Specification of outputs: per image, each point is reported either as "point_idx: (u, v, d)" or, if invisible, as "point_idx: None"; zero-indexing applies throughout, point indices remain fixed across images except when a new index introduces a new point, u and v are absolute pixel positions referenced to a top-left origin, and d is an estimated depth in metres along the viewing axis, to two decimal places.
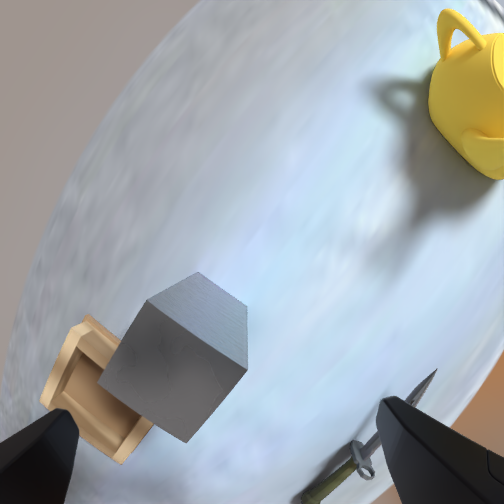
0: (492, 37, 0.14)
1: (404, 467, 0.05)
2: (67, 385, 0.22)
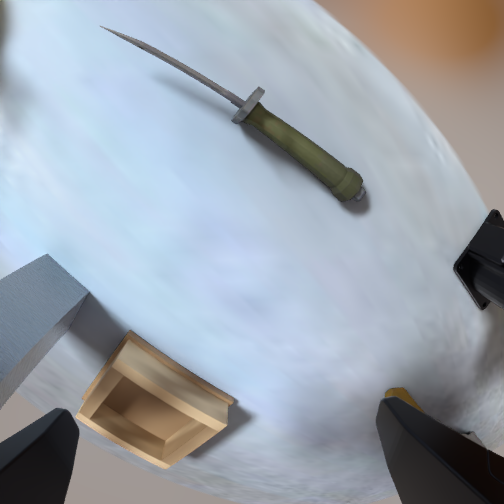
0: None
1: (404, 467, 0.05)
2: (157, 435, 0.23)
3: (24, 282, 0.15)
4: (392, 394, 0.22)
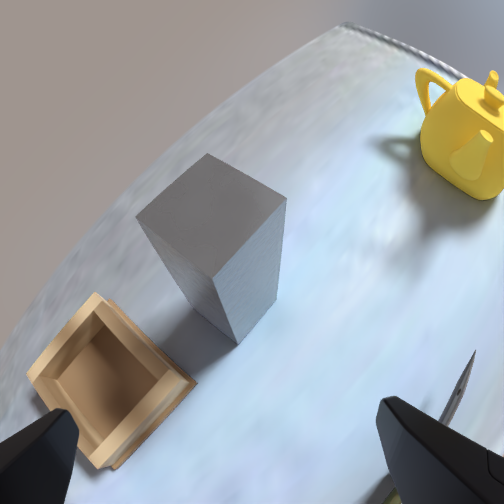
0: (457, 82, 0.24)
1: (404, 467, 0.05)
2: (63, 373, 0.19)
3: (268, 289, 0.19)
4: None
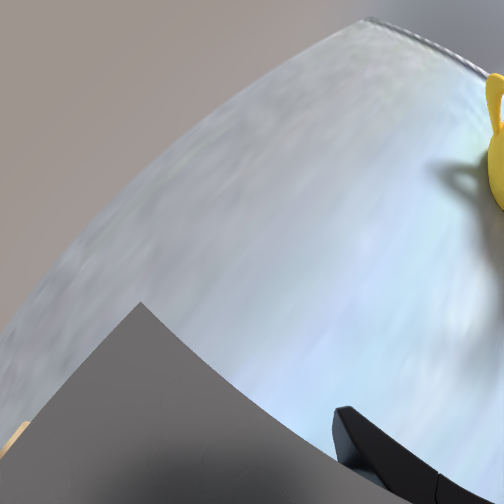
0: None
1: None
2: None
3: None
4: None
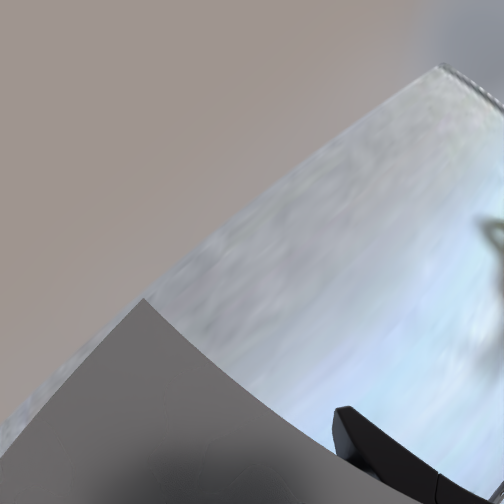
0: None
1: None
2: None
3: None
4: None
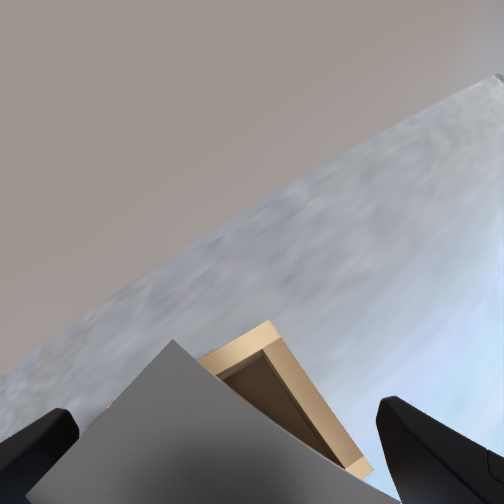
0: None
1: (404, 467, 0.05)
2: None
3: None
4: None
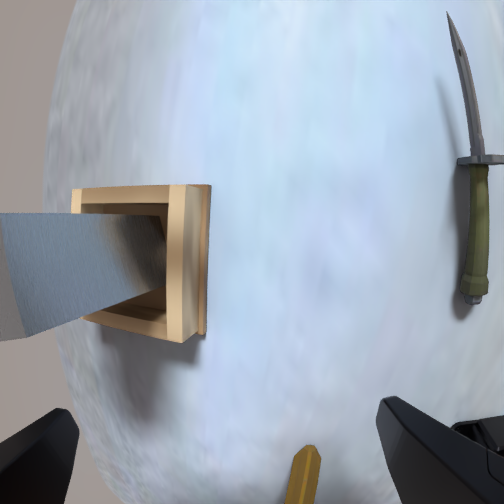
0: None
1: (404, 467, 0.05)
2: None
3: (125, 233, 0.15)
4: (314, 451, 0.18)
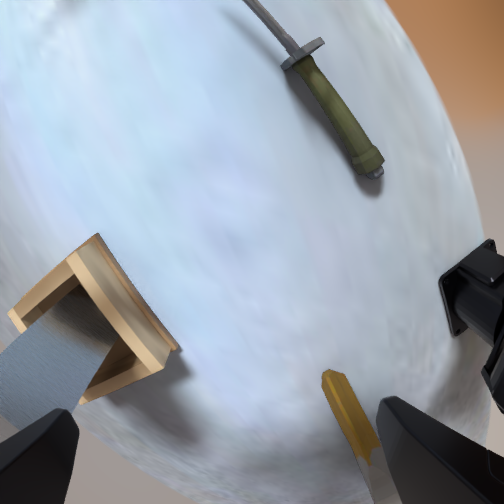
0: None
1: (404, 467, 0.05)
2: None
3: (61, 320, 0.15)
4: (331, 374, 0.21)
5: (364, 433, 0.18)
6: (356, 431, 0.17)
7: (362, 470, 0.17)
